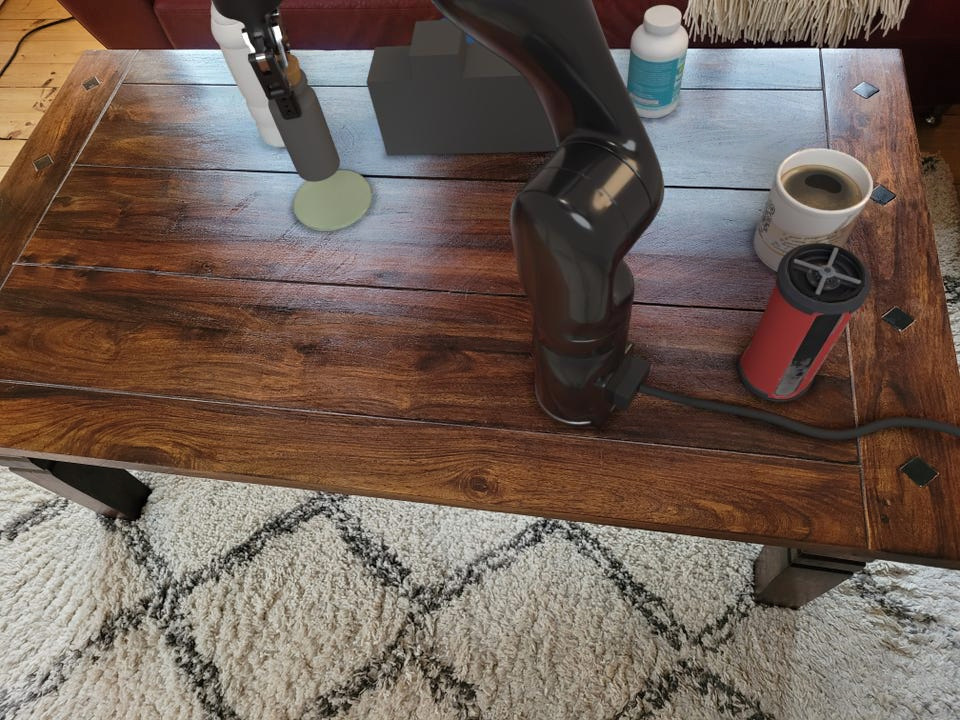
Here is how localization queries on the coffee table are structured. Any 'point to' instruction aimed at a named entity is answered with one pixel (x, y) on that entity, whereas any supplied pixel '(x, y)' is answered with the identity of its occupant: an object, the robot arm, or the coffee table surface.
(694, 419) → the coffee table surface
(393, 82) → the camera
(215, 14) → the water bottle
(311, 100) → the bottle
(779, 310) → the speaker
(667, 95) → the pill bottle
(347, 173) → the coaster
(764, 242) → the mug
